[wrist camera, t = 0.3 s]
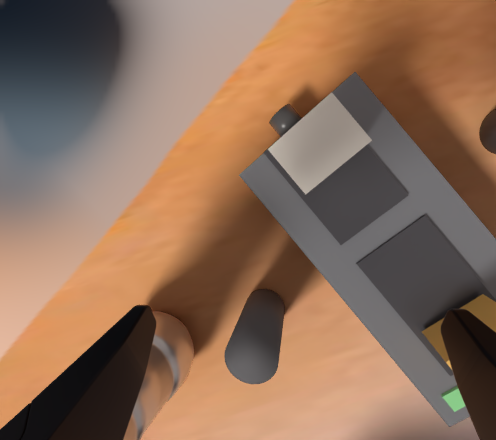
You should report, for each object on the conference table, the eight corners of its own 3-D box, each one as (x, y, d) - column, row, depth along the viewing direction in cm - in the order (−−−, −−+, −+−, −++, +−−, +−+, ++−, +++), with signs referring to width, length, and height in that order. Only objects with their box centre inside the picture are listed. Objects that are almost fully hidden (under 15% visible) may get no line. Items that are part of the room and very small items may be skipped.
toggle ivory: (359, 147, 17) (372, 140, 14) (304, 191, 18) (305, 194, 15) (326, 107, 17) (331, 92, 14) (273, 153, 18) (267, 149, 15)
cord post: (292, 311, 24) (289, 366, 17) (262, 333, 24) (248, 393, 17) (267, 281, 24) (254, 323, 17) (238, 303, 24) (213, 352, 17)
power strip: (536, 320, 20) (595, 355, 16) (423, 383, 22) (450, 429, 18) (330, 74, 21) (337, 48, 17) (236, 159, 23) (222, 155, 19)
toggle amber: (516, 334, 17) (562, 367, 14) (453, 369, 18) (484, 408, 15) (483, 294, 17) (521, 318, 14) (421, 331, 18) (445, 362, 15)
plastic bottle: (172, 289, 25) (-270, 669, 6) (216, 353, 25) (-67, 940, 6) (119, 324, 27) (-377, 722, 7) (161, 384, 27) (-213, 939, 7)
